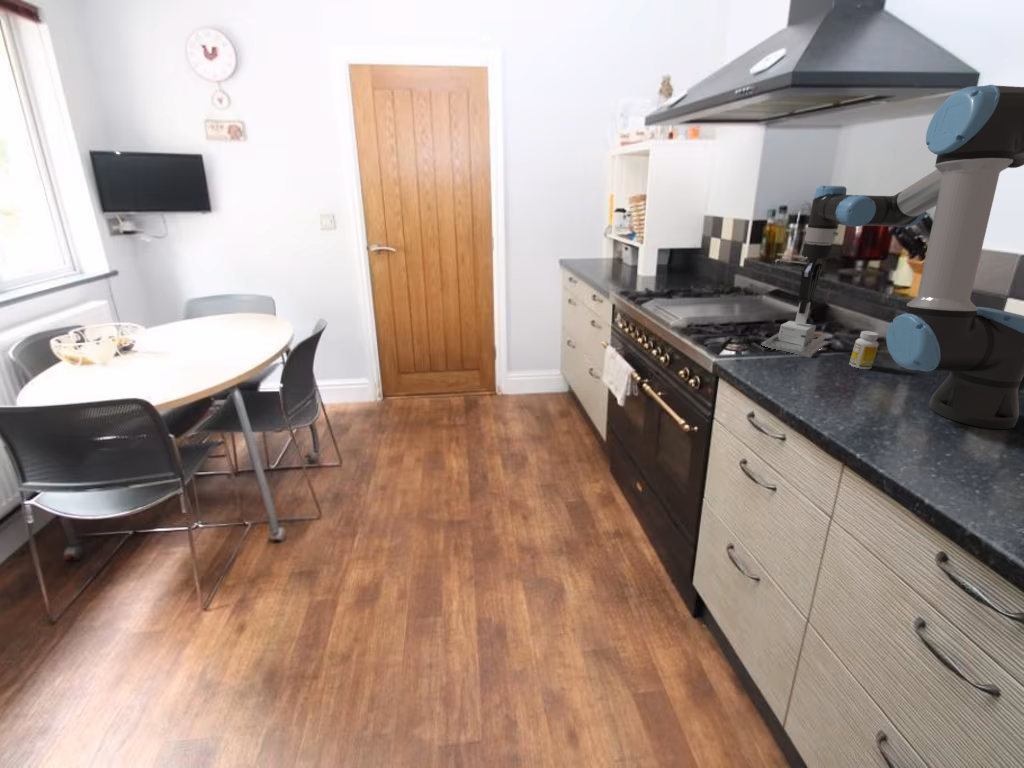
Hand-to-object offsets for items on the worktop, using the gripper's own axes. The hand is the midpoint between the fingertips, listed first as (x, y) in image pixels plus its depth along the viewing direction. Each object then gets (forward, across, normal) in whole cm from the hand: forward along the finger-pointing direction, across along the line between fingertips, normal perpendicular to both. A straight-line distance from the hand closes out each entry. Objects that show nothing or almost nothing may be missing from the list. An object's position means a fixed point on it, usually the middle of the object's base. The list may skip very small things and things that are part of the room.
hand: (800, 323), depth 162 cm
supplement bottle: (+7, -8, -19) cm, 22 cm away
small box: (+6, 0, 0) cm, 6 cm away
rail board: (+7, 0, 0) cm, 7 cm away
